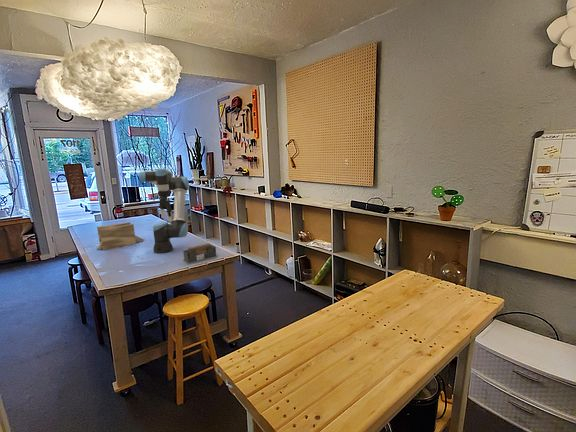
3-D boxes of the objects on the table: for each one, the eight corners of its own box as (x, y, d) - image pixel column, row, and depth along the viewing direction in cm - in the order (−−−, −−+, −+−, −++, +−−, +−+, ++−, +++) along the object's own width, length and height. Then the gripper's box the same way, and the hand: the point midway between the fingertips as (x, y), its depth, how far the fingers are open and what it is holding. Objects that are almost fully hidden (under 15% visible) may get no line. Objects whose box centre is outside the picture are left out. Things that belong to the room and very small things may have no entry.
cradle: (100, 246, 271) (97, 226, 267) (132, 240, 287) (129, 222, 283) (103, 250, 260) (99, 229, 256) (136, 243, 276) (133, 224, 273)
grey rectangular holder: (183, 260, 228) (182, 250, 227) (211, 253, 243) (210, 244, 241) (188, 264, 221) (187, 253, 219) (217, 256, 235) (216, 246, 233)
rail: (188, 255, 227) (187, 248, 226) (209, 250, 238) (208, 243, 236) (190, 257, 224) (189, 249, 223) (211, 251, 235) (211, 244, 233)
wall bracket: (131, 261, 279) (97, 249, 260) (130, 260, 282) (97, 248, 263) (144, 239, 284) (111, 225, 264) (142, 238, 287) (110, 225, 268)
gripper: (152, 189, 226) (156, 217, 230) (163, 192, 207) (167, 222, 211) (163, 188, 231) (166, 216, 235) (174, 191, 212) (178, 221, 216)
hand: (166, 219), depth 223 cm, fingers open, 13 cm apart
